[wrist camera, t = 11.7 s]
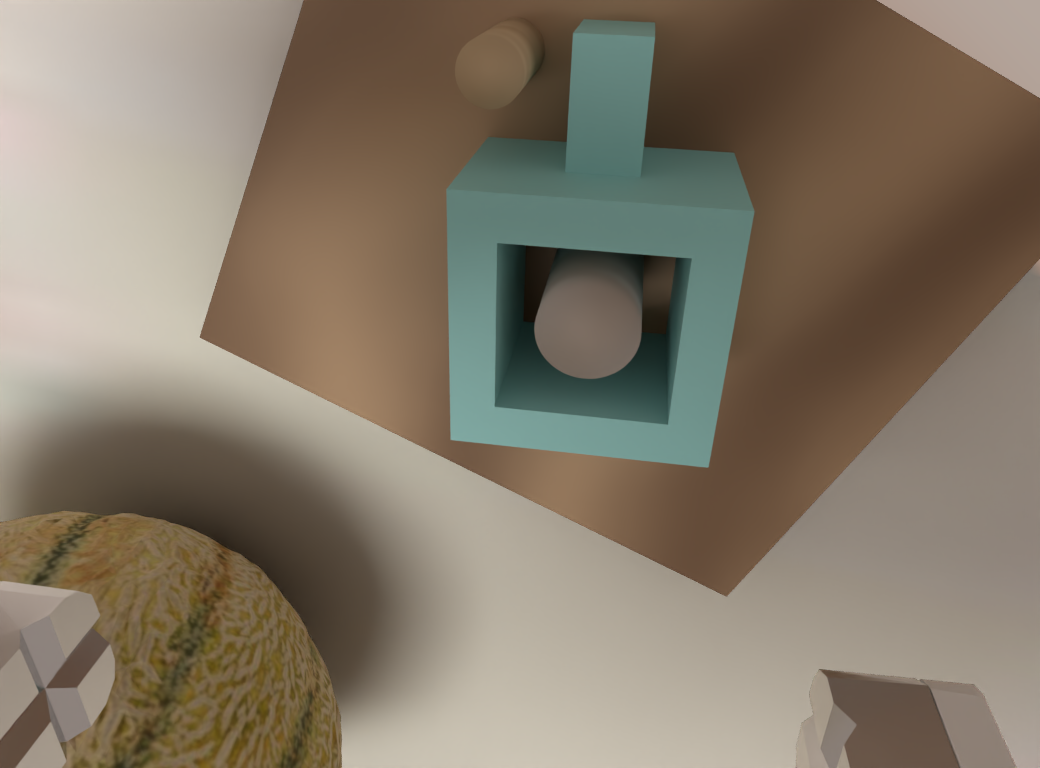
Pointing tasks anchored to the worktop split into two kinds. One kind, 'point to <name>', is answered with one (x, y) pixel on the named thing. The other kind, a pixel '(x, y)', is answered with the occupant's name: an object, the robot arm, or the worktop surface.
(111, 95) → the worktop surface
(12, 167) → the worktop surface
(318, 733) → the cantaloupe
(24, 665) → the robot arm
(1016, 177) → the board
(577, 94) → the teal frame with handle
